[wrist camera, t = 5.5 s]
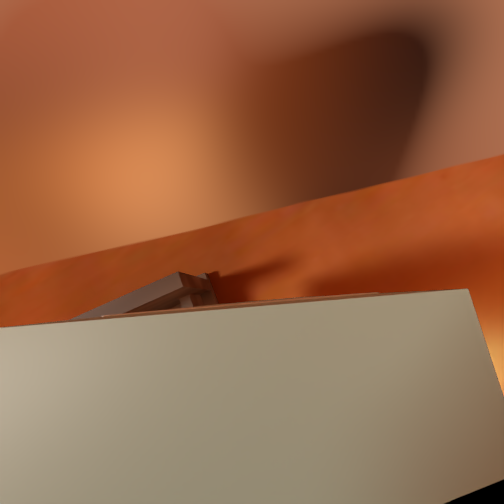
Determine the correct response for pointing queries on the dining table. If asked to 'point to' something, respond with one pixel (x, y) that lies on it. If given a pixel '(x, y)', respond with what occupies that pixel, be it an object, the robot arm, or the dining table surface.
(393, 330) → the book
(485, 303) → the dining table surface
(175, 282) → the book rack
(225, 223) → the dining table surface
